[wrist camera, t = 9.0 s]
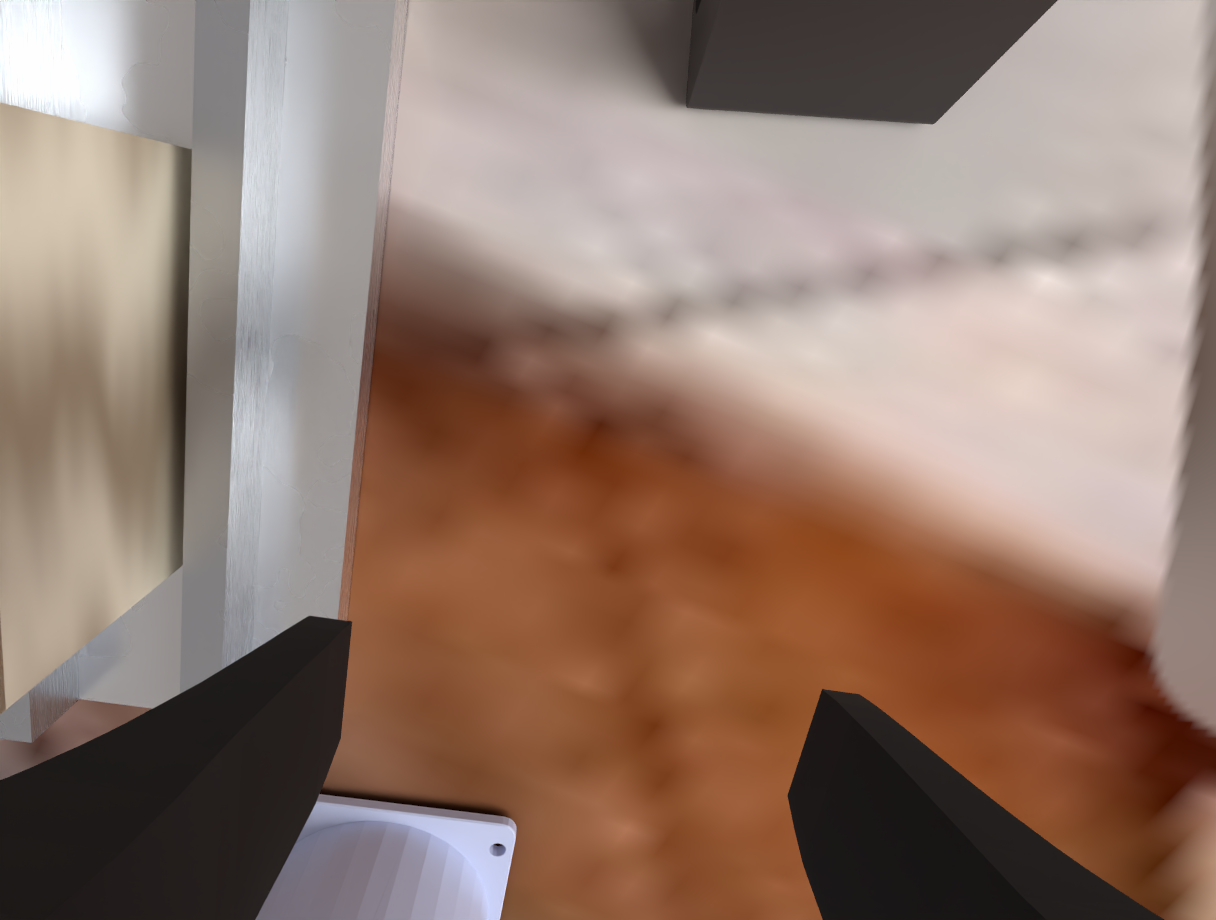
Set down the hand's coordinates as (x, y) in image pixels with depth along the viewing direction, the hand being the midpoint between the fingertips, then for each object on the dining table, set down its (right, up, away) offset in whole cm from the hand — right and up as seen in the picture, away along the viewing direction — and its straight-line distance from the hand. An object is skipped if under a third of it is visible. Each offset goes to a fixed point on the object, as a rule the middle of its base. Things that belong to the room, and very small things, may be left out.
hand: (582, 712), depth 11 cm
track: (-11, +7, +7) cm, 15 cm away
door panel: (-11, +6, +6) cm, 14 cm away
